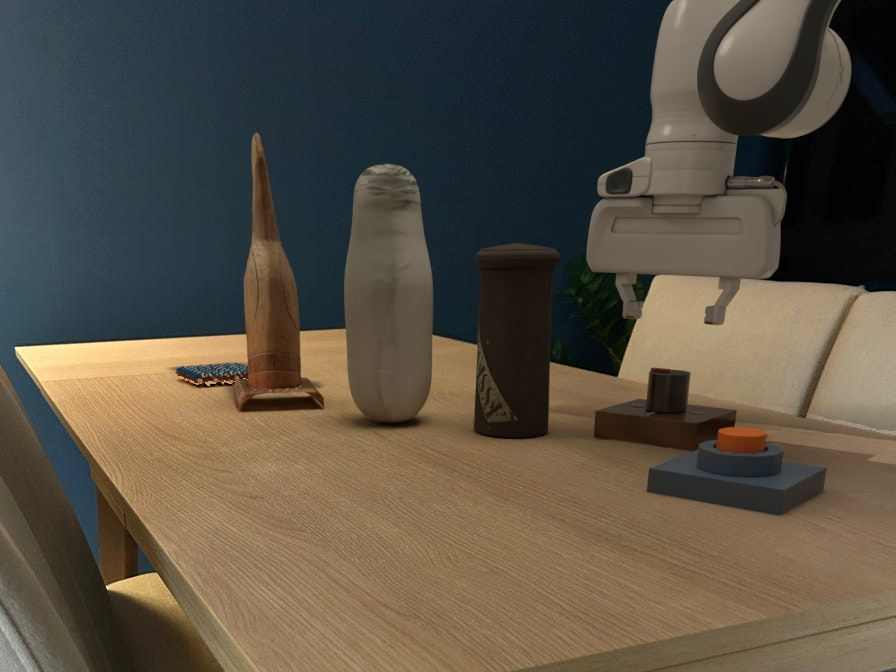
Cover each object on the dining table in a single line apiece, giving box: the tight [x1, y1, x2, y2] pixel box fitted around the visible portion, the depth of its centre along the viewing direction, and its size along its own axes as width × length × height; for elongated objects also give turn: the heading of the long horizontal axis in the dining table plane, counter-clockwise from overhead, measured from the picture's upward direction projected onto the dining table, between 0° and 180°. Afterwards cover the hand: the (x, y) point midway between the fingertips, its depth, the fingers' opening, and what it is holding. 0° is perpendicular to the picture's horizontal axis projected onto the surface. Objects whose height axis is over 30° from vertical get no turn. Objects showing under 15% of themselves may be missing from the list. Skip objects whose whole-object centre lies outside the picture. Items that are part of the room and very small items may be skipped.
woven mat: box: [175, 361, 248, 384], centre depth 147 cm, size 10×11×2 cm
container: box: [473, 242, 561, 438], centre depth 107 cm, size 9×9×20 cm
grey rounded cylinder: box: [343, 163, 434, 424], centre depth 112 cm, size 10×10×28 cm
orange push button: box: [716, 426, 768, 453], centre depth 84 cm, size 4×4×2 cm
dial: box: [646, 367, 692, 413], centre depth 106 cm, size 4×4×4 cm
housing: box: [646, 440, 828, 516], centre depth 85 cm, size 12×10×4 cm
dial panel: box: [593, 398, 738, 452], centre depth 107 cm, size 12×10×3 cm
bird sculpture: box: [232, 132, 325, 411], centre depth 123 cm, size 11×12×32 cm
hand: (671, 321), depth 103 cm, fingers open, 8 cm apart
